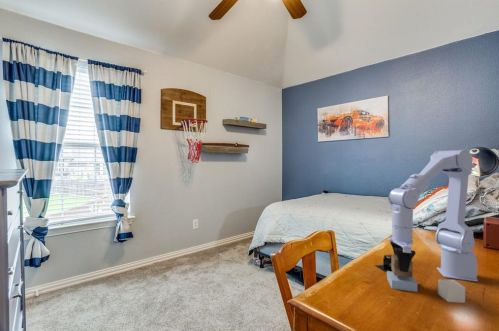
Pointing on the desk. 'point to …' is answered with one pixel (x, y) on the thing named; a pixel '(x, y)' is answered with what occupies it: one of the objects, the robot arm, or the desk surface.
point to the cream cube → (451, 291)
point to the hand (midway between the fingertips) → (401, 267)
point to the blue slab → (401, 282)
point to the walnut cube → (397, 271)
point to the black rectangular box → (385, 264)
